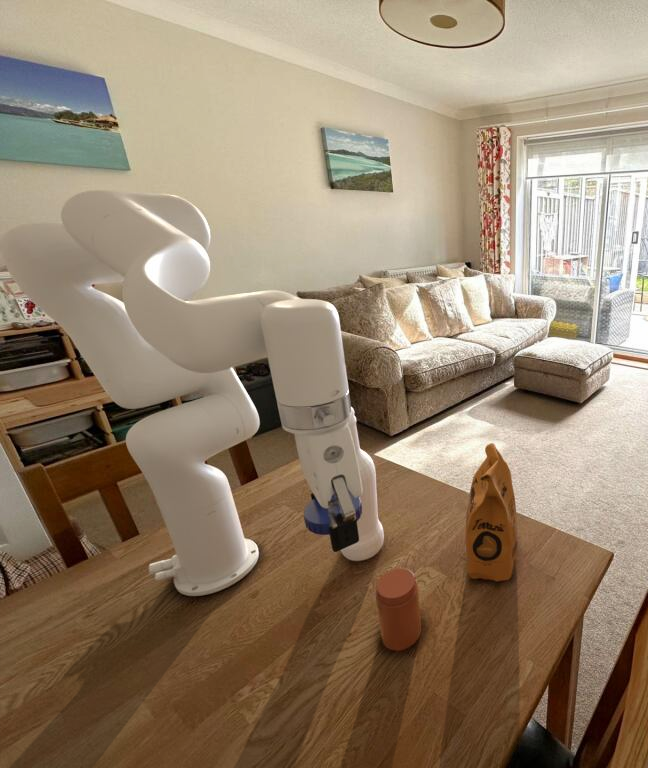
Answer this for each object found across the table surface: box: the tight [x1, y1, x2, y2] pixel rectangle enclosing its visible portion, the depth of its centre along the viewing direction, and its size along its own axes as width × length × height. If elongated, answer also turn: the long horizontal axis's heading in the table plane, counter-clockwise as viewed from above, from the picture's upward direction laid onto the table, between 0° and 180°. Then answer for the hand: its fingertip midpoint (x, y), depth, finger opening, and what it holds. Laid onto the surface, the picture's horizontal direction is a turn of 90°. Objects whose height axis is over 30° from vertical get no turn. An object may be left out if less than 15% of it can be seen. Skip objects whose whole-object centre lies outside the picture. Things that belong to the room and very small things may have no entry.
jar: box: [375, 567, 422, 652], centre depth 61 cm, size 6×6×10 cm
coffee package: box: [464, 442, 518, 583], centre depth 73 cm, size 10×12×22 cm
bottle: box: [340, 406, 385, 562], centre depth 73 cm, size 8×8×30 cm
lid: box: [303, 491, 362, 536], centre depth 52 cm, size 7×7×2 cm
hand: (336, 528), depth 54 cm, fingers closed on lid, 6 cm apart
